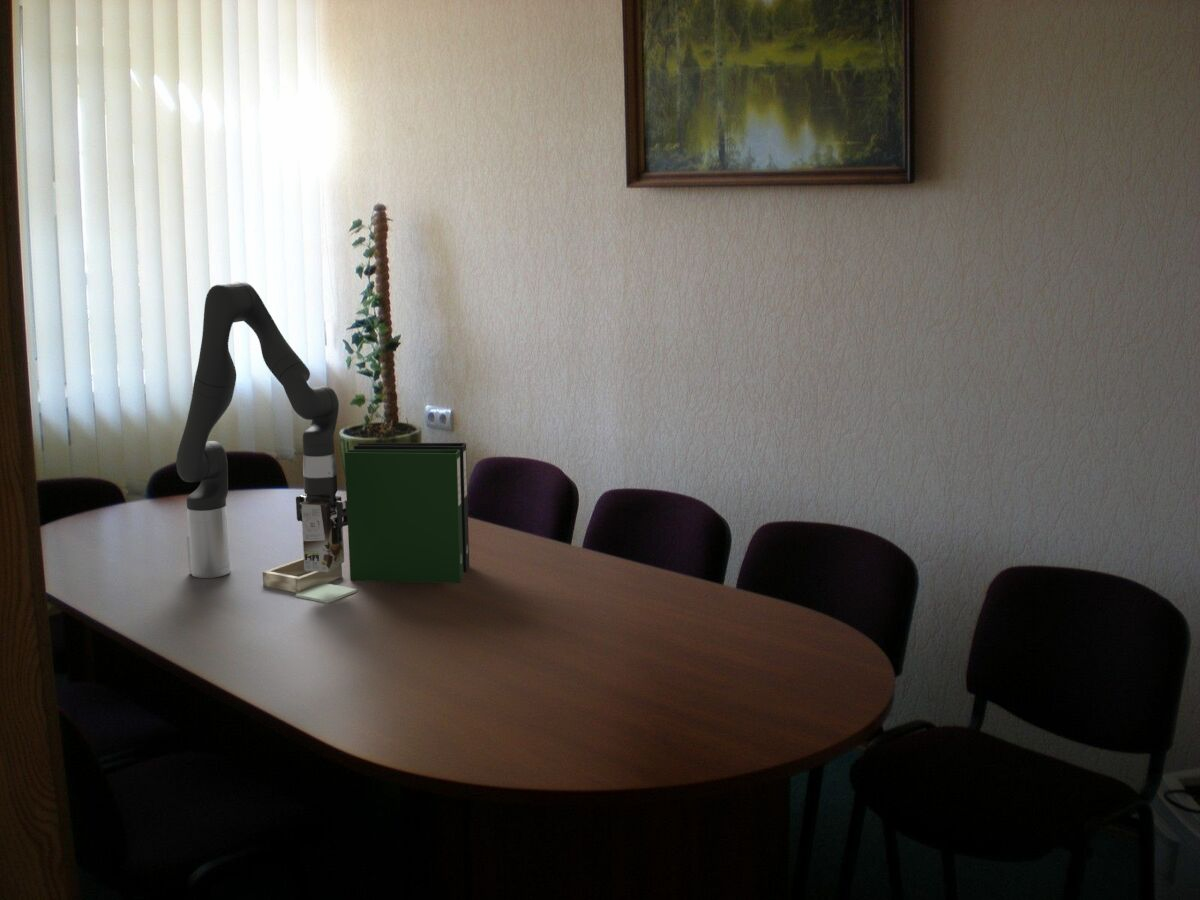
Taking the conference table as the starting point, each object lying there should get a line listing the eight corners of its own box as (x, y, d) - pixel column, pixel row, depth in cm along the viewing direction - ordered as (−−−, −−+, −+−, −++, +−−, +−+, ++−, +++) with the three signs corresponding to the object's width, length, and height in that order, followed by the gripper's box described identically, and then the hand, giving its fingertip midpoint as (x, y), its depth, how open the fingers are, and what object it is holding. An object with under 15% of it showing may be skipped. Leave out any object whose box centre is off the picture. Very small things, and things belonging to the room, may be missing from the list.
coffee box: (329, 572, 273) (326, 504, 270) (303, 571, 274) (299, 503, 271) (345, 561, 281) (342, 495, 278) (320, 560, 283) (317, 494, 280)
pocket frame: (263, 585, 286) (262, 572, 285) (306, 570, 298) (305, 557, 298) (299, 593, 280) (299, 578, 279) (342, 576, 293) (341, 563, 292)
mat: (295, 596, 277) (295, 594, 277) (324, 585, 286) (324, 583, 286) (328, 603, 272) (327, 600, 272) (356, 591, 281) (356, 589, 281)
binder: (349, 581, 289) (343, 453, 283) (364, 564, 303) (359, 441, 297) (460, 583, 287) (456, 453, 281) (469, 565, 302) (466, 442, 296)
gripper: (285, 473, 274) (289, 541, 277) (332, 479, 267) (336, 549, 270) (308, 467, 280) (311, 534, 283) (354, 473, 273) (357, 541, 276)
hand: (323, 541), depth 277 cm, fingers closed on coffee box, 7 cm apart
